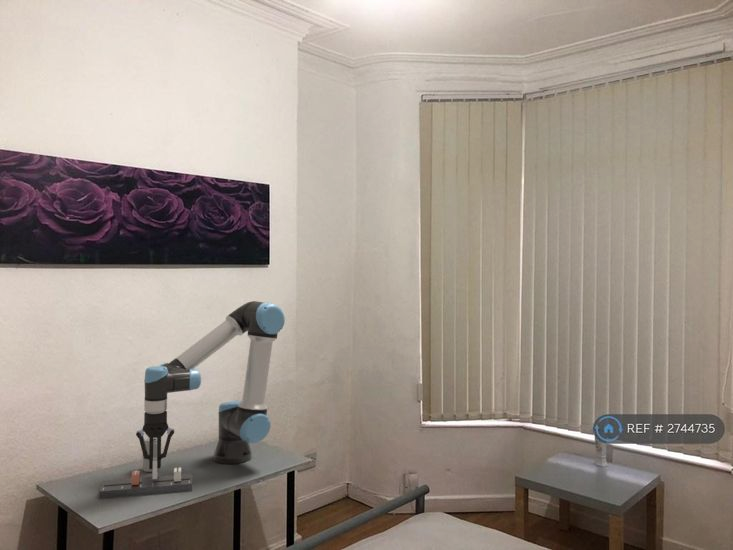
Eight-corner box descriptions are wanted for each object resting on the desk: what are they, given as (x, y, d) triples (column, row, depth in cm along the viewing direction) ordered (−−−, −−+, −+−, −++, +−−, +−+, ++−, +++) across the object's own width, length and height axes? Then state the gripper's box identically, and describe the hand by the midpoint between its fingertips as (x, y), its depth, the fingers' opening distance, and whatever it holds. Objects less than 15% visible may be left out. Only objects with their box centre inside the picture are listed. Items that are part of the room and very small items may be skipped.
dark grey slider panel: (192, 480, 220) (192, 473, 220) (192, 490, 211) (192, 483, 211) (103, 487, 212) (103, 480, 212) (99, 498, 203) (99, 491, 202)
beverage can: (154, 473, 227) (154, 441, 227) (139, 472, 228) (139, 440, 228) (163, 467, 233) (163, 437, 233) (148, 466, 234) (148, 435, 234)
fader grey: (181, 477, 217) (181, 467, 216) (181, 481, 213) (181, 470, 212) (174, 477, 216) (174, 467, 216) (173, 481, 212) (174, 471, 212)
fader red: (139, 480, 213) (139, 470, 213) (138, 484, 209) (138, 474, 209) (132, 480, 212) (132, 470, 212) (131, 485, 208) (131, 474, 208)
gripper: (175, 407, 217) (174, 472, 217) (136, 409, 213) (136, 475, 214) (174, 412, 210) (174, 479, 210) (135, 414, 206) (134, 483, 207)
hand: (154, 477), depth 212 cm, fingers closed
